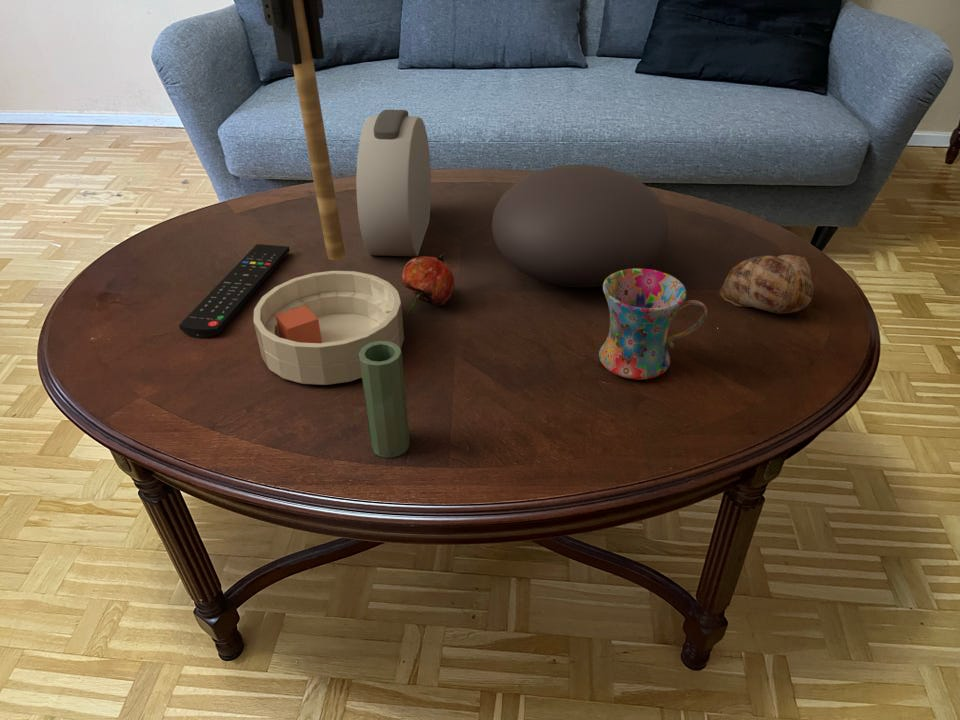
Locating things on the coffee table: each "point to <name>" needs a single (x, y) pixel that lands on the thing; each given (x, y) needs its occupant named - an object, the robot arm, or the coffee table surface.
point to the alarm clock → (393, 184)
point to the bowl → (329, 324)
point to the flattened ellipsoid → (579, 225)
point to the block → (299, 325)
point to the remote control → (233, 291)
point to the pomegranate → (428, 279)
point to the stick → (317, 139)
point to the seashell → (770, 284)
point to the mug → (642, 321)
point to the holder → (385, 398)
